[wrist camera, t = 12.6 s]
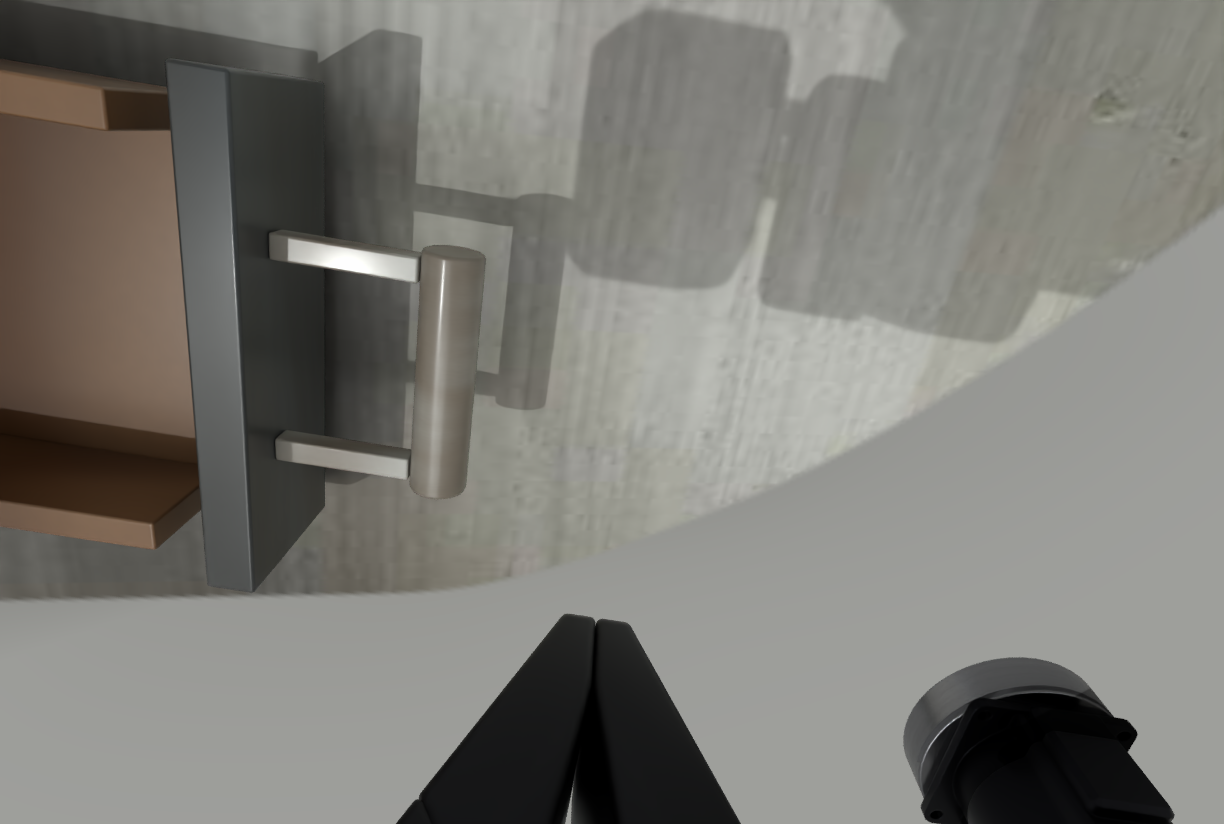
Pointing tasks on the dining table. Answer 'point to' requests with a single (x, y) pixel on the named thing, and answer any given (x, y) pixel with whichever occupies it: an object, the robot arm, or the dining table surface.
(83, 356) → the drawer
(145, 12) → the dining table surface
